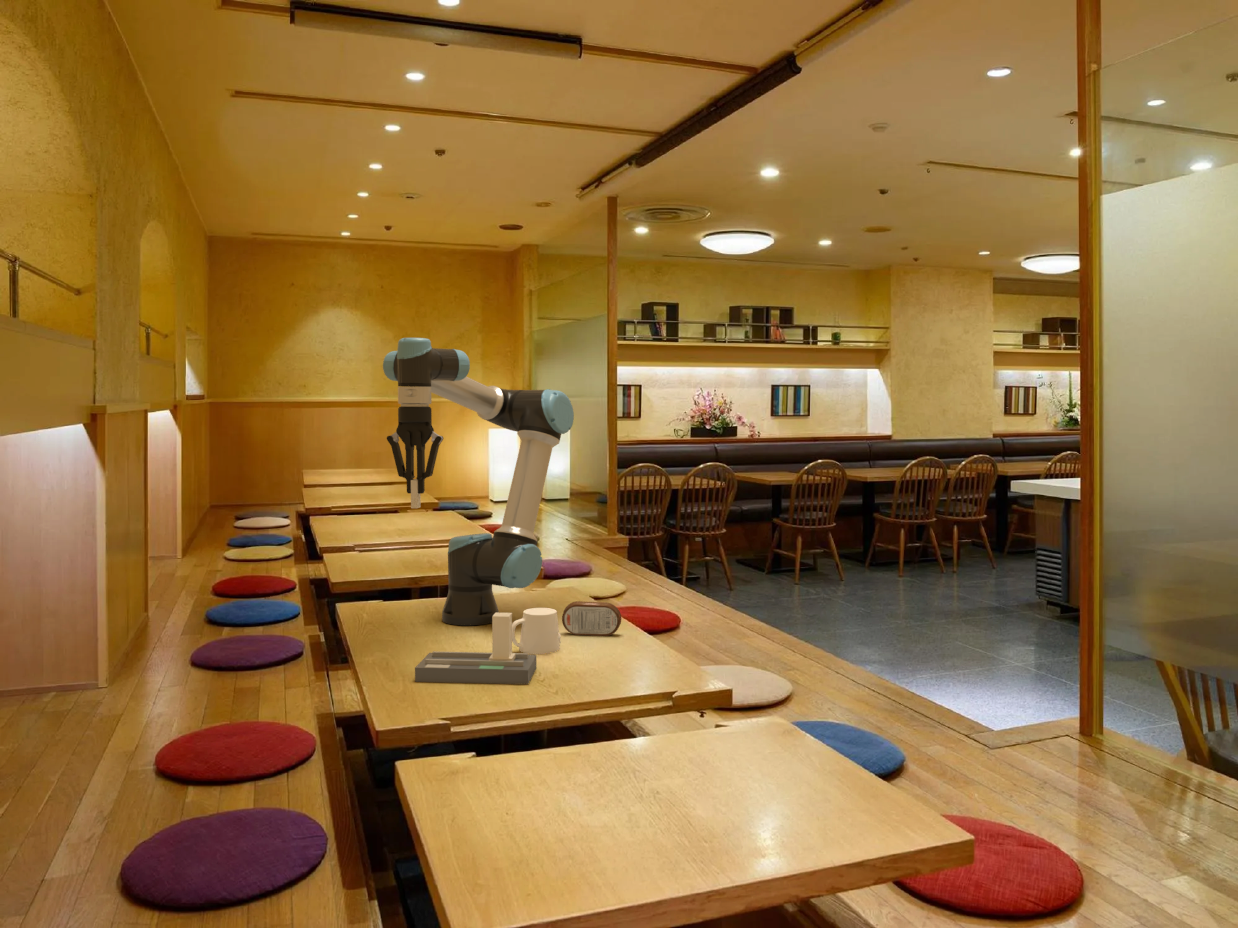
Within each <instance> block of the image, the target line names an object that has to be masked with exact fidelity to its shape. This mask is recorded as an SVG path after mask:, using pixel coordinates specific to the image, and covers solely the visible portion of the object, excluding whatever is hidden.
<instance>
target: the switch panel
mask: <svg viewBox="0 0 1238 928" xmlns="http://www.w3.org/2000/svg"><path fill="white" fill-rule="evenodd" d="M515 653H516V658H515V659H514V661H504V660H489V657H490V656H491V655H492V652H482V651H481V652H477V651H474V652H473V651H438V650H437V651H435V650H434V651H432V652H429V653H427V655H425V657H423V659H422V660H421V661H420V662H418V664H417V665H416V666H415V667H414V683H416V682H417V683H419V682H420V683H455V684H456V683H457V684H492V685H494V684H499V685H505V684H506V685H510V684H511V685H529V684H530V682H531V679H532V677H533V676H534V674H535V672H536V670H537V654H528V653H522V652H518V653H517V652H515ZM529 681H530V682H529ZM528 683H529V684H528Z"/></svg>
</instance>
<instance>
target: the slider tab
mask: <svg viewBox="0 0 1238 928" xmlns="http://www.w3.org/2000/svg"><path fill="white" fill-rule="evenodd" d="M512 623H513V612H499V613H495V614H494V615H493V616H492V623H491V624H492V628H491V629H492V631H491V632H492V633H491V634H492V635H491V636H492V637H491V639H492V642H491V643H492V645H491V647H492V649H491V651H492V652H491V653H492V655H491V656H490V657H489V660H504V661H514V659H515V658H516V653H517V652H513V642H512Z"/></svg>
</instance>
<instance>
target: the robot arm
mask: <svg viewBox="0 0 1238 928" xmlns="http://www.w3.org/2000/svg"><path fill="white" fill-rule="evenodd" d="M470 363H471V362H470V358H469V356H468V355H467V354H466V352H465V351H463V350H460V349H455V348H434V347H432V341H431V340H430V339H429V338H425V337H403V338H400V339H399V340H398V341H397V350H393V351H390V352H388V353H387V354H386V355H385V356H384V358H383V362H382V370H383V374H384V375H385V376H386V378H388V379H389V380H391V381H393V382H397V404H399V405H400V406H398V408H397V415H398V416H397V421H398V423H397V424H398V425H397V427H396V429H395V432H393V433H391V435H388V436H386V441H387V442H388V443H389V445H390V447H391V450H392V451H391V452H392V454H393V459H394V463H395V469H396V470H397V476H398V477H400V478H403V479H405V481H406V493H407V494H410V508H411V509H419V508H421V502H422V501H421V494H424V493H425V488H426V487H425V483H426V482H425V480H426V479H427V478H429V477H432V476H433V475H434V470H435V465H436V461H437V457H438V452H439V448H440V446H441V443H442V442H443V441H444V436H443V435H439V434H437V433H436V432H435V429H434V427H433V425H432V417H433V416H432V408H431V406H430V405H432V394H434V395H436V396H438V397H440V398H444V399H445V400H447V401H450V402H452V403H455V404H457V405H459V406H462V407H463V408H466V409H469V410H470V411H474V412H475V413H476V414H477V416H478V417H479V418H480V419H482V420H484V421H487V422H489V423H491V424H494V425H495V426H498V427H501V428H503V429H506V430H509V431H513V432H517V433H516V434H517V436H518V438H519V439H520V445H519V449H518V453H517V459H516V462H515V467H514V471H513V475H512V480H511V484H510V488H509V493H508V497H507V501H506V505H505V506H506V507H505V509H504V514H503V518H502V523H501V526H500V527H499V528H497V529H496V530H494V533H493V535H492V533H490V532H489V533H488V532H487V533H474V534H465V535H457V536H454V537H452V538H450V539H449V540H448V551H447V568H448V570H447V571H448V573H447V574H448V579H447V580H448V593H447V596H446V599H445V602H444V606H443V608H442V613H441V621H442V622H443V623H446V624H449V625H455V626H479V625H480V626H481V625H487V624H492V616H493V615H494V614H495V613H500V611H499V607H498V604H497V601H496V598H495V596H494V592H493V586H499V587H505V588H508V589H524V588H527V587H529V586H530V585H531V584H533V583H534V582H535V581H536V580H537V578H538V576H539V575H540V573H541V569H542V567H543V557H542V551H541V549H540V548H539V547H538V538H537V537H536V536H535V534H534V532H535V528H536V524H537V519H538V514H539V511H540V504H541V501H542V496H543V493H544V487H545V483H546V478H547V476H548V475H547V474H548V470H549V465H550V460H551V455H552V451H553V448H554V447H556V446H557V445H559V444H560V441H561V436H562V435H564V434H566V433H567V434H568V433H569V431H570V430H571V429H572V428H573V425H574V421H575V420H574V418H575V417H574V416H575V413H574V408H573V405H572V403H571V400H570V398H569V397H568V395H567V394H566V393H564V392H563V391H562V390H557V389H551V388H549V389H548V388H547V389H506V388H501V387H499V386H496V385H489V386H487V385H485V384H484V383H481V382H479V381H476V380H475V379H473V378H471V377H468V374H469V373H470V369H471V367H470ZM430 439H431V446H430V451H429V455H428V458H427V463H426V458H425V457H426V456H425V455H426V453H425V451H426V444H427V443H428V441H429V440H430ZM400 440H401V441H402V443H403V444H404V450H405V462H404V458H403V454H402V451H401V446H400V443H399V441H400ZM415 450H416V476H415V454H414V453H415Z"/></svg>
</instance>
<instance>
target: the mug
mask: <svg viewBox="0 0 1238 928" xmlns="http://www.w3.org/2000/svg"><path fill="white" fill-rule="evenodd" d="M520 624H521V630H520V640H519V643H518V641H517V639H516V632H515V631H516V627H517V626H518V625H520ZM559 632H560V629H559V620H558V611H557V610H556V609H554V608H549V607H533V608H527V609H525V610H523V613H522V618H519V619H516V620H514V621H512V644H514V645H515V646H516V647H518V649H519V652H520V653H522V652H523V653H528V655H545V653H547V654H551V653H550V652H553V653H556V652H558V651H560V649H561V648H560V646H561V638H562V636H561V633H559ZM557 650H558V651H557ZM555 651H556V652H555Z"/></svg>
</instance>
